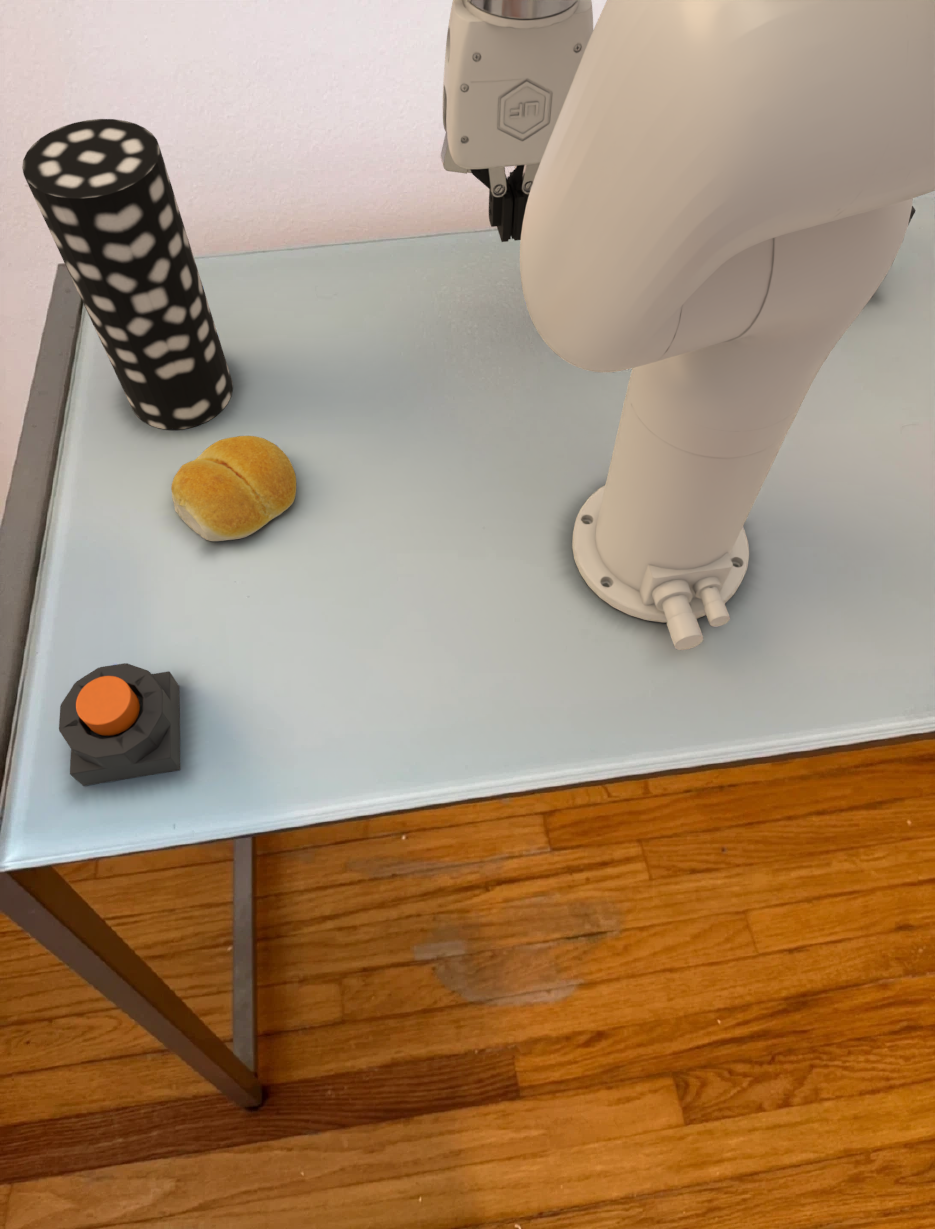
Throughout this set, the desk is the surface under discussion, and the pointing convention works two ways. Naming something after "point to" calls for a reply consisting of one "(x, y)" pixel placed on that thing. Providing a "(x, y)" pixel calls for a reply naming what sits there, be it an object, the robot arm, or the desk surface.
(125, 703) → the button
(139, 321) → the spotted tube
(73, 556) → the desk surface
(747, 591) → the desk surface
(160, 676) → the control block
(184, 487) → the bread roll
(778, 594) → the desk surface
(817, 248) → the robot arm
